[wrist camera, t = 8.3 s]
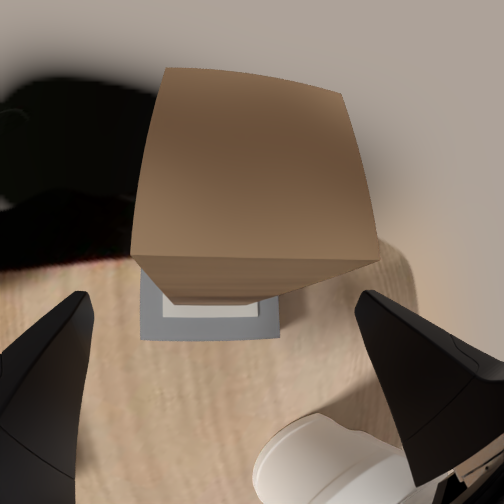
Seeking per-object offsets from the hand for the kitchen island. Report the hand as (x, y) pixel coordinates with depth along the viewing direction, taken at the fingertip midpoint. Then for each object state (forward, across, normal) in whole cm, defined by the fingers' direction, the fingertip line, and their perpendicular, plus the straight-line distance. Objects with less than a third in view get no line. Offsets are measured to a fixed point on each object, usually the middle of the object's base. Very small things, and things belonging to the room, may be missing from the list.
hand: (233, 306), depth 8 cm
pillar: (+8, 0, +4) cm, 9 cm away
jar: (-1, -9, +19) cm, 21 cm away
